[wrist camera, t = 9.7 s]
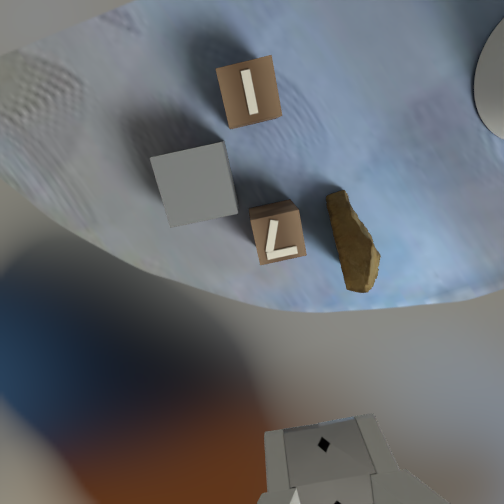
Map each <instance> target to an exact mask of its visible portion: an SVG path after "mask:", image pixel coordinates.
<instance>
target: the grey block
mask: <svg viewBox="0 0 504 504" xmlns="http://www.w3.org/2000/svg"><path fill="white" fill-rule="evenodd" d="M150 161H151V164H152V168H153V171H154V174H155V178H156V181H157V185H158V188H159V191H160V195H161V198H162V201H163V205H164V208H165V211H166V215H167V218H168V222H169V225H170V228H173V227H177V226H182V225H187V224H191V223H196V222H201V221H206V220H210V219H215V218H220V217H225V216H229V215H234V214H238V200H237V195H236V191H235V186H234V182H233V177H232V173H231V168H230V164H229V159H228V155H227V150H226V146H225V141H223V142H218V143H213V144H209V145H204V146H200V147H195V148H191V149H186V150H181V151H177V152H172V153H168V154H163V155H159V156H155V157H150Z"/></svg>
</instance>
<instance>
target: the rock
mask: <svg viewBox="0 0 504 504" xmlns="http://www.w3.org/2000/svg"><path fill="white" fill-rule="evenodd" d="M326 202H327V203H326V205H327V209H328V213H329V217H330V221H331V226H332V229H333V236H334V239H335V243H336V247H337V251H338V253H339V260H340V263H341V268H342V272H343V276H344V281H345V284H346V289H347V290H350V291H354V292H359V293H366V292H368V291H369V290H370V289H371V288H372V287H373V285H374V282H375V279H376V278H377V276H378V270H379V269H378V266H379V261H380V257H381V256H380V254H379V252H378V251H377V250H376V248H375V246H374V244H373V240H372V236H371V235H370V233H369V232H368V230H367V228H366V227H365V226H364V224H363V223H362V222H360V220H359V218H358V215H357V214H356V213H355V211H354V210H353V208H352V206H351V205H350V202H349V199H348V195H347V193H346V191H345V190H342V191H339V192H336V193H332V194H330V195H327V196H326Z"/></svg>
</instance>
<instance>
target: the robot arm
mask: <svg viewBox="0 0 504 504" xmlns="http://www.w3.org/2000/svg"><path fill="white" fill-rule="evenodd" d="M474 96H475V102H476V106H477V110H478V113H479V115H480V117H481V119H482V121H483V122H484V124H485V125H486V126H487V128H488V129H489V130H490V131H491V132H492V133H494V134H495V135H496V136H498V137H500V138H502V139H504V18H503V19H502V20H501V22H500V23H499V24H498V25H497V26H496V28H495V29H494V31H493V32H492V33H491V35H490V37H489V38H488V40H487V42H486V44H485V46H484V48H483V50H482V52H481V55H480V58H479V61H478V64H477V68H476V73H475V80H474ZM264 440H265V458H266V474H267V488H268V489H267V490H268V492H267V493H263V494H262V495H261V497H260V499H259V500H258V503H257V504H450V503H449V502H447V501H446V500H445V499H444V498H443V497H441V496H440V495H439V494H437V493H436V492H435V491H434V490H432V489H431V488H430V487H428V486H427V485H426V484H425V483H423V482H422V481H421V480H419V479H418V478H417V477H415V476H414V475H413V474H412V473H410V472H409V471H408V470H400V469H399V467H398V464H397V462H396V460H395V458H394V456H393V454H392V451H391V449H390V447H389V445H388V443H387V441H386V438H385V436H384V434H383V432H382V430H381V428H380V426H379V423H378V421H377V419H376V417H375V416H374V415H373V414H366V415H360V416H355V417H348V418H343V419H338V420H332V421H327V422H322V423H318V424H313V425H307V426H300V427H293V428H286V429H281V430H275V431H269V432H265V436H264Z"/></svg>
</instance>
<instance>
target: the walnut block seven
mask: <svg viewBox="0 0 504 504" xmlns="http://www.w3.org/2000/svg"><path fill="white" fill-rule="evenodd" d="M249 214H250V221H251V226H252V230H253V235H254V239H255V244H256V248H257V253H258V257H259V261H260V265H264V264H269V263H273V262H278V261H283V260H287V259H292V258H297V257H301V256H306V255H307V254H306V249H305V243H304V237H303V231H302V225H301V219H300V214H299V209H298V208H297V207H296V206H295V205H294V203H293V202H292V201H291V200H290V199H289V200H285V201H280V202H276V203H271V204H267V205H262V206H258V207H253V208H249Z"/></svg>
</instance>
